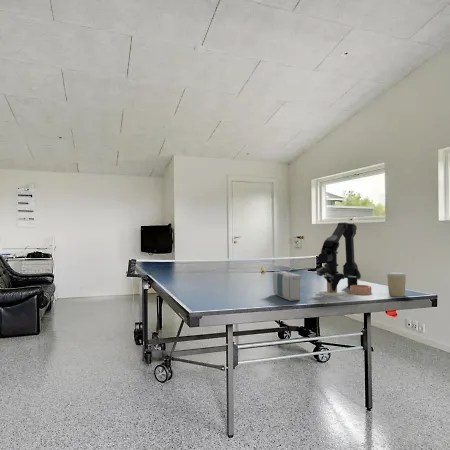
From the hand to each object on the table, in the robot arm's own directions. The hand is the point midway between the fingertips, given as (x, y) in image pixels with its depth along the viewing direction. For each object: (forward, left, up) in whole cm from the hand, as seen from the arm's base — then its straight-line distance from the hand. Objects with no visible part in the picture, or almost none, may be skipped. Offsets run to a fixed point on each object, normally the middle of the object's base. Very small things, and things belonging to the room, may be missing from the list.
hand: (332, 290), depth 195 cm
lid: (0, 0, -2) cm, 2 cm away
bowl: (0, +17, -2) cm, 17 cm away
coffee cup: (+9, +33, -3) cm, 34 cm away
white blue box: (+3, -27, -3) cm, 27 cm away
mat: (0, 0, -2) cm, 2 cm away
